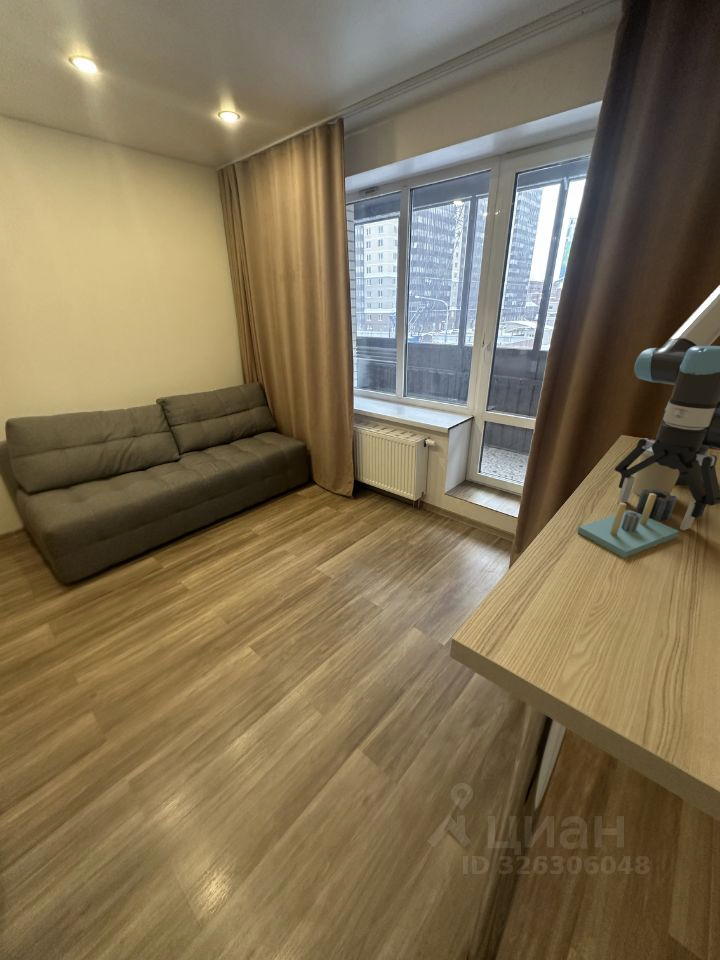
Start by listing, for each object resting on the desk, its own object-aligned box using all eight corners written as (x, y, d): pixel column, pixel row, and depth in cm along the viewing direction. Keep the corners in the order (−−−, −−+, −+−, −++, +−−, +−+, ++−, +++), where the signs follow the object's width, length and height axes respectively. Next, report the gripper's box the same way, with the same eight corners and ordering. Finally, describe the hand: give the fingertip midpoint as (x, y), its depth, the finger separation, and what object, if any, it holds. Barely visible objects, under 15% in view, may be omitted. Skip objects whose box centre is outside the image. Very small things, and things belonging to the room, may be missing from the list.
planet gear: (646, 505, 91) (652, 487, 88) (675, 517, 85) (683, 498, 83) (629, 511, 88) (635, 492, 86) (658, 524, 83) (666, 504, 81)
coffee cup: (680, 503, 92) (698, 457, 87) (637, 499, 93) (653, 454, 88) (660, 486, 100) (676, 444, 95) (622, 484, 102) (635, 442, 97)
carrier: (628, 515, 86) (639, 482, 83) (676, 537, 78) (691, 501, 74) (577, 532, 80) (586, 497, 76) (623, 558, 72) (637, 519, 68)
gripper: (613, 413, 87) (590, 495, 95) (752, 445, 66) (706, 546, 75) (634, 409, 90) (610, 489, 98) (773, 439, 69) (726, 537, 78)
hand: (651, 514), depth 87 cm, fingers open, 13 cm apart
